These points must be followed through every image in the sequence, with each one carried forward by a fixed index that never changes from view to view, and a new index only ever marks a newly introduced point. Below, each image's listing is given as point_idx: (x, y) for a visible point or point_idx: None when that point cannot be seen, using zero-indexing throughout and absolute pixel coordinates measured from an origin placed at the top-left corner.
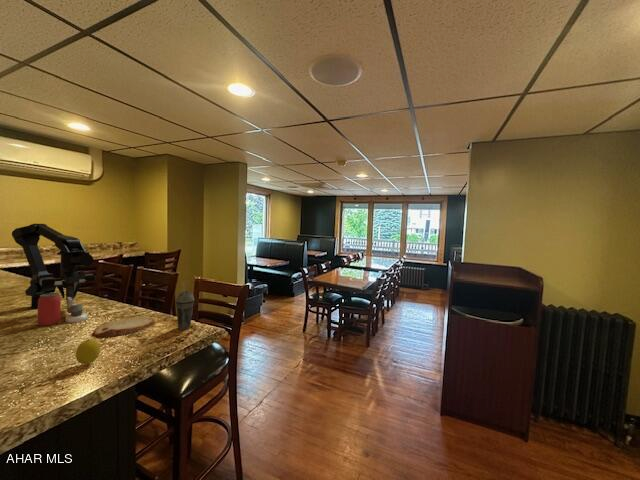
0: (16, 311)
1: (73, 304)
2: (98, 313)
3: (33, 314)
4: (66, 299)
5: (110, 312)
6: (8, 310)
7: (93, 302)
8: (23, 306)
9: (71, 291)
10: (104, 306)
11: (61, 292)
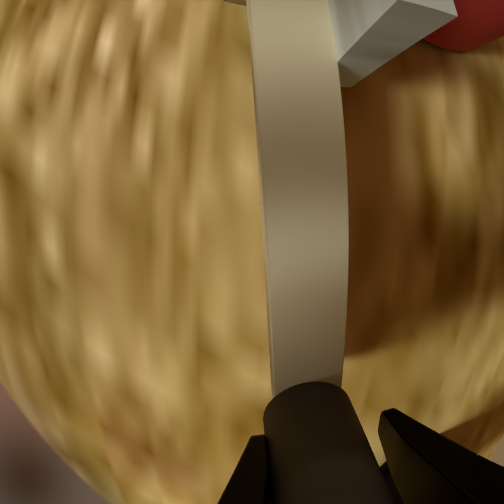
0: (493, 417)
1: (299, 51)
2: (79, 59)
3: (484, 325)
4: (351, 403)
5: (14, 58)
6: (496, 439)
7: (123, 453)
8: None
9: (327, 495)
10: (29, 294)
11: (468, 453)
